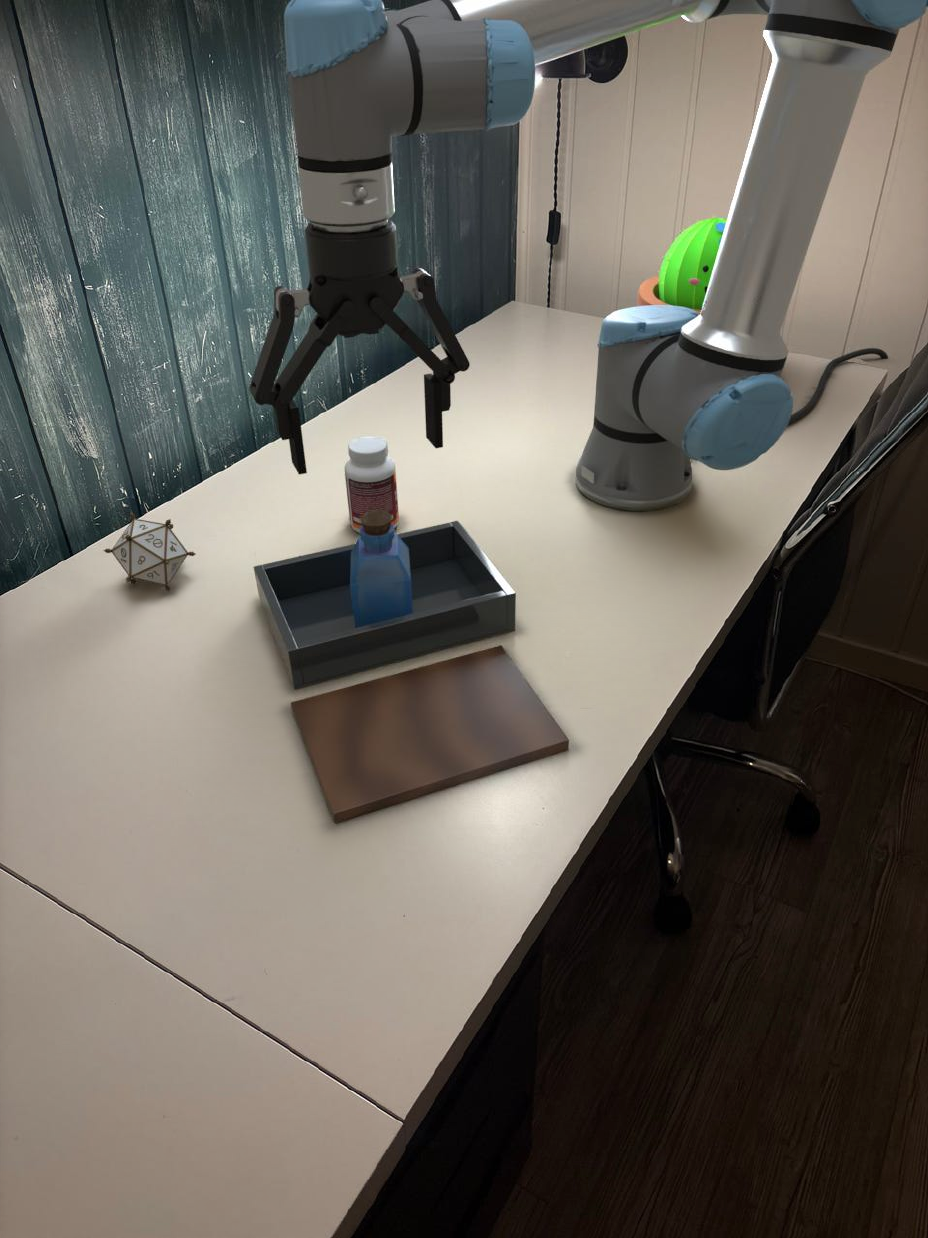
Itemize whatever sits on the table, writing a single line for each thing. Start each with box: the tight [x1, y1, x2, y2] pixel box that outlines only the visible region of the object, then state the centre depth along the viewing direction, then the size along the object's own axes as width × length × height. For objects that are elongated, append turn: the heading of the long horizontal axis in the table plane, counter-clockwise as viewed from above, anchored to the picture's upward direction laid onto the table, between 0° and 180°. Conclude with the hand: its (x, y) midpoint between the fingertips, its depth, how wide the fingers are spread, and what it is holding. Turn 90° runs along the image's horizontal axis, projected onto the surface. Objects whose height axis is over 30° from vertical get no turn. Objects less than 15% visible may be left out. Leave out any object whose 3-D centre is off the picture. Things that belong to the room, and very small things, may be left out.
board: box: [290, 644, 570, 824], centre depth 85 cm, size 22×15×1 cm
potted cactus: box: [636, 213, 728, 315], centre depth 145 cm, size 22×22×25 cm
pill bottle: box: [344, 435, 400, 534], centre depth 112 cm, size 6×6×11 cm
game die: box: [102, 511, 197, 593], centre depth 104 cm, size 9×8×10 cm
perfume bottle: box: [350, 510, 413, 628], centre depth 96 cm, size 6×6×12 cm
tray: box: [253, 520, 517, 690], centre depth 99 cm, size 24×16×5 cm, turn 112°
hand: (368, 455), depth 88 cm, fingers open, 13 cm apart
